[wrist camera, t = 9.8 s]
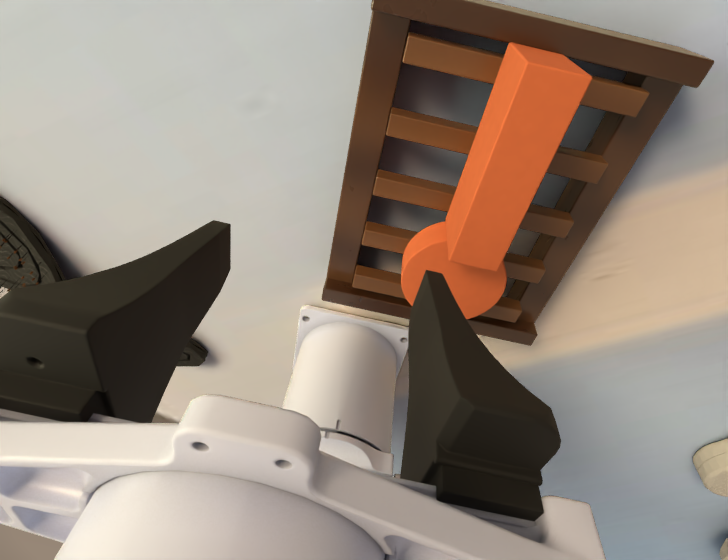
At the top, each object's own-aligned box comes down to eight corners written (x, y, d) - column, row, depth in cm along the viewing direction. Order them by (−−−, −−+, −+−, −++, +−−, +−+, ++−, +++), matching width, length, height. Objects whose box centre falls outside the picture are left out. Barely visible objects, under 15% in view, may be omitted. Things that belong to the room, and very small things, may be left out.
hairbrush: (171, 406, 34) (-226, 231, 25) (188, 370, 37) (-162, 200, 28) (217, 358, 30) (-243, 124, 21) (233, 321, 33) (-165, 100, 23)
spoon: (470, 32, 16) (480, 50, 13) (602, 63, 16) (639, 88, 13) (392, 288, 24) (388, 333, 21) (480, 308, 24) (488, 355, 21)
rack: (522, 315, 28) (531, 346, 26) (329, 272, 28) (321, 300, 25) (680, 47, 18) (716, 60, 16) (381, -26, 18) (375, -22, 15)
